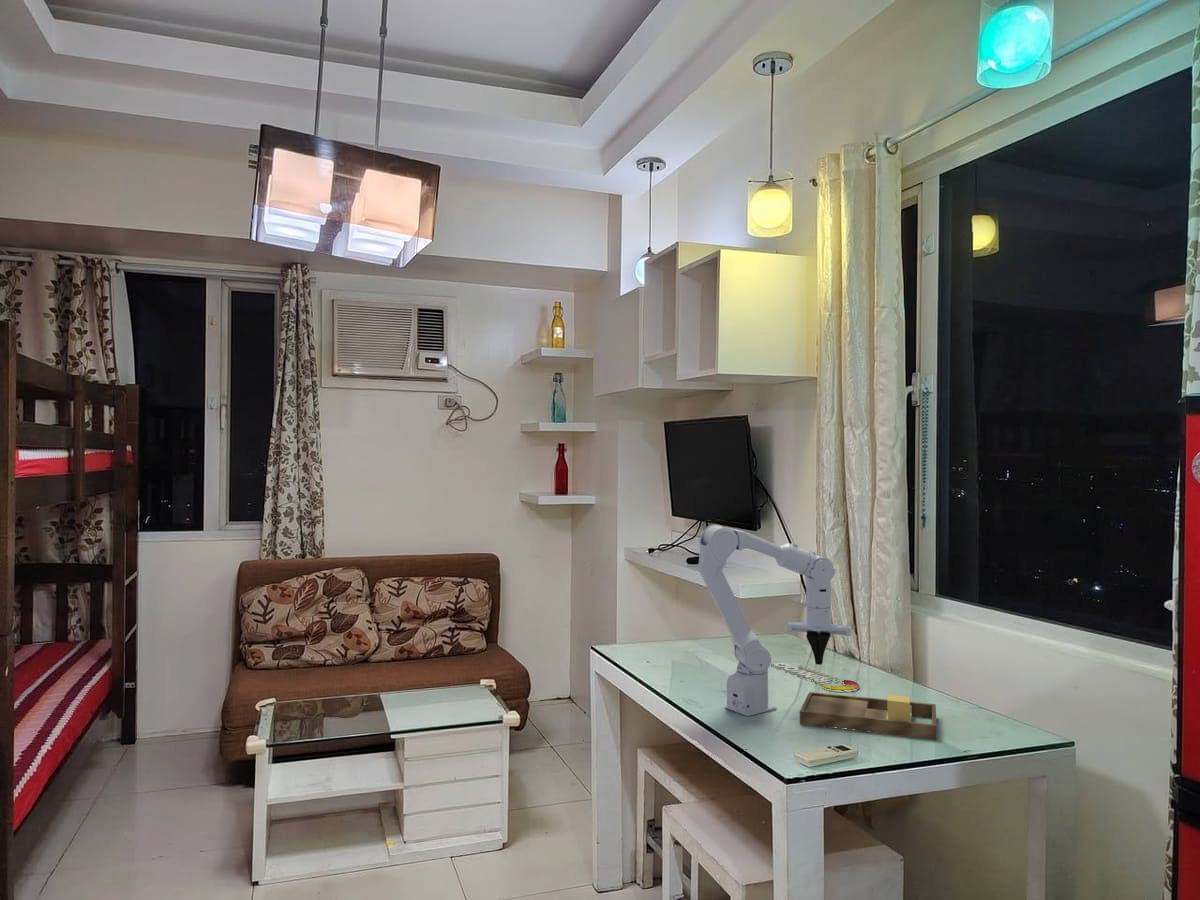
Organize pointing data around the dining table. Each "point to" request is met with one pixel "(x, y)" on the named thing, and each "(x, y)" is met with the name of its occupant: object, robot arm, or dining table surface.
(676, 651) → the dining table surface
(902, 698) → the block
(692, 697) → the dining table surface
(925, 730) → the tray
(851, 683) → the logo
